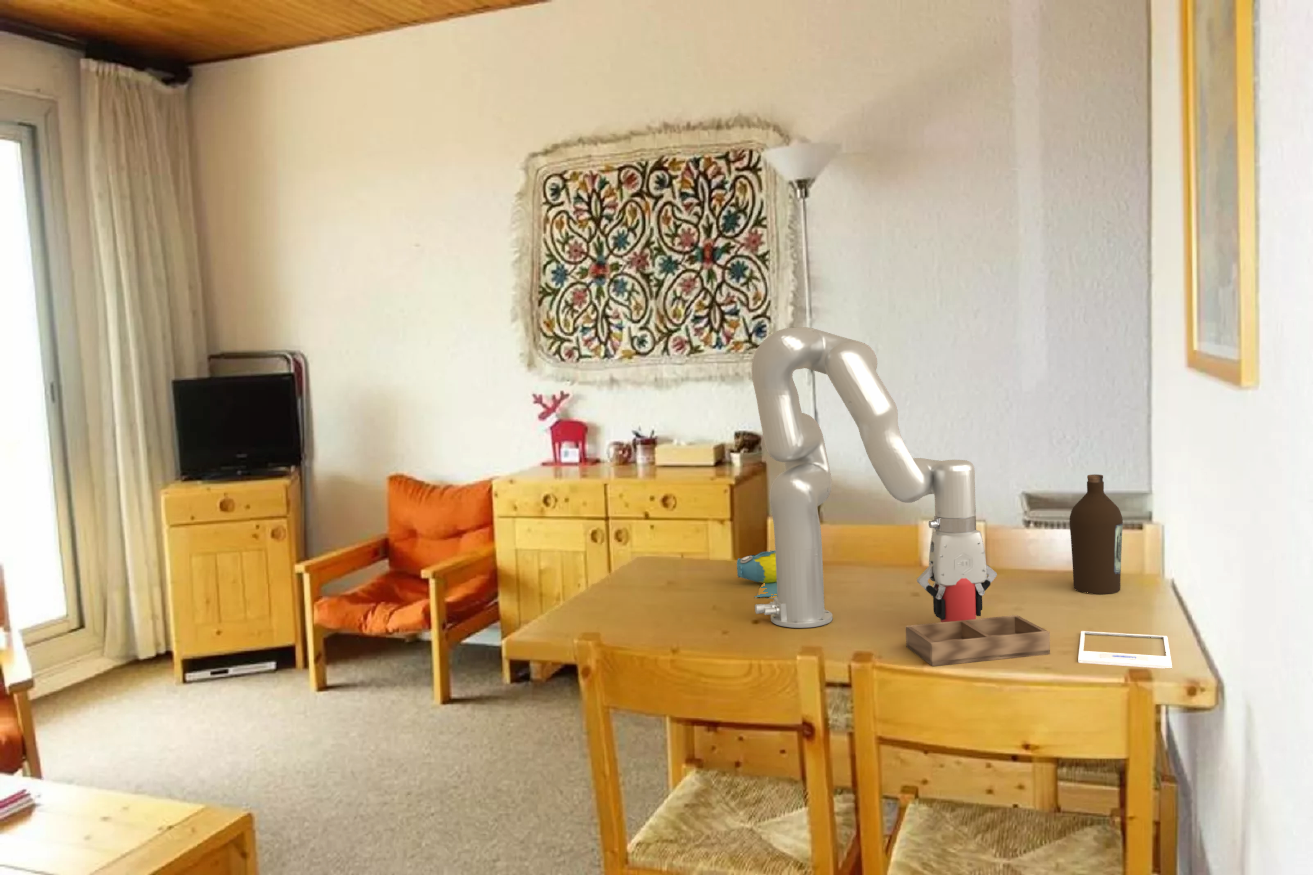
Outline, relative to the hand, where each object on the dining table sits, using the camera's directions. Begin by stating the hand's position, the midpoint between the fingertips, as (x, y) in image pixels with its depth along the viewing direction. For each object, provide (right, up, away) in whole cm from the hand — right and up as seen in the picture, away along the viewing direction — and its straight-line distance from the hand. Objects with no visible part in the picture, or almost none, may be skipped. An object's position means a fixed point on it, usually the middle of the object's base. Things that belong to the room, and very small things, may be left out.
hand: (958, 615), depth 206 cm
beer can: (0, -3, 0) cm, 3 cm away
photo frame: (+25, -4, -16) cm, 30 cm away
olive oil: (+38, +1, +26) cm, 46 cm away
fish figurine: (-31, -1, +48) cm, 57 cm away
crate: (0, -4, -12) cm, 13 cm away
